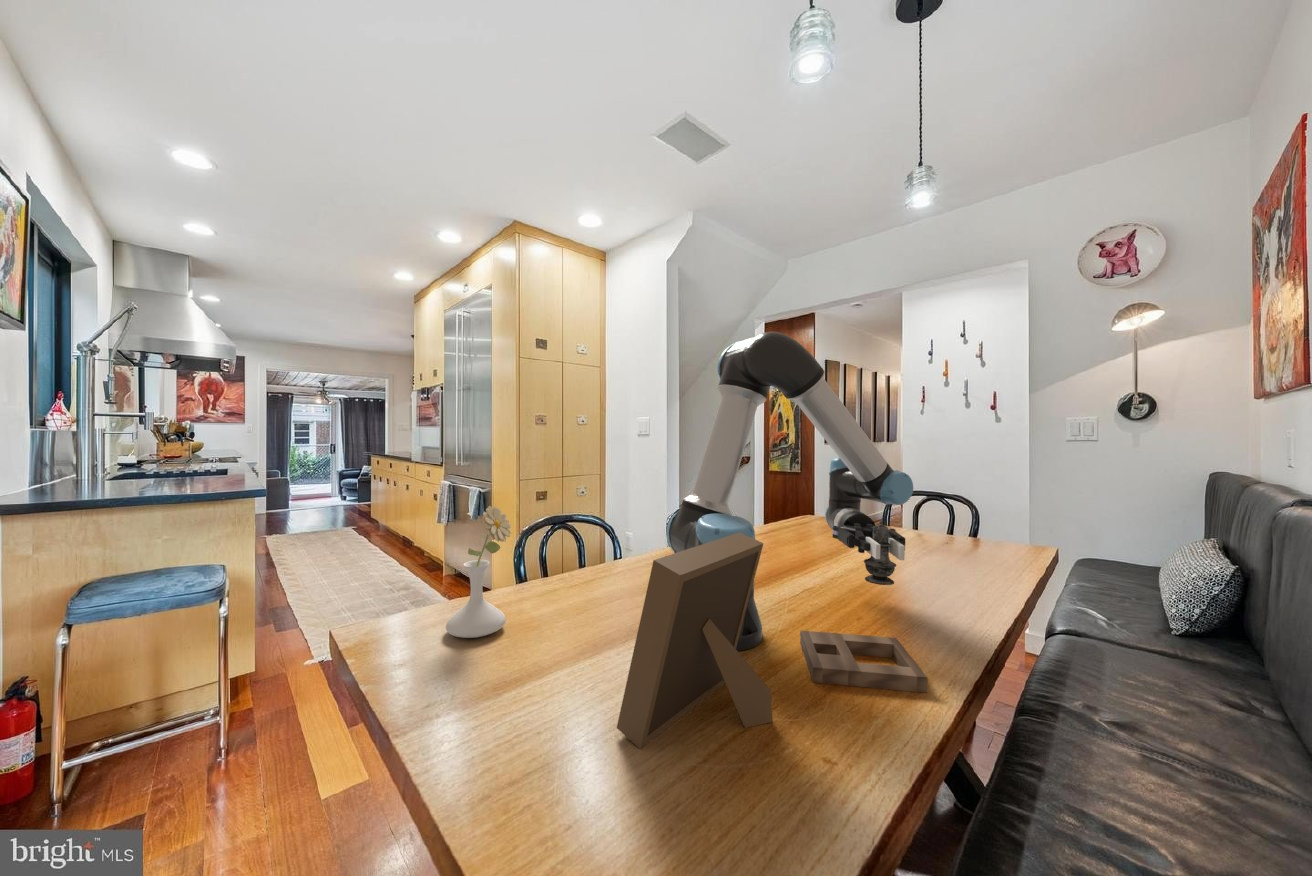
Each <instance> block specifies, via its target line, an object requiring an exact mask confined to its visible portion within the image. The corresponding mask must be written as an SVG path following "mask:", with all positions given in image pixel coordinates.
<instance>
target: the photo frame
mask: <svg viewBox="0 0 1312 876" xmlns="http://www.w3.org/2000/svg"><path fill="white" fill-rule="evenodd" d="M763 548H764V542H761V541H759V540H757V539H756V538H755V539H753V538H751V537H748V536H746V535H744V534H742V533H737V534H733V535H730V536H727V537H724V538H721V539H718V540H715V541H712V542H708V543H705V544H702V545H699V546H696V547H693V548H690V549H687V550H683V551H680V552H677V553H672V554H671V553H670V554H668V555H665V556H662V557H659V558H656V559H653V561H652V566H651V571H650V575H649V579H648V580H649V581H648V584H647V588H646V593H645V597H644V601H643V607H642V612H641V616H640V619H639V624H638V629H637V634H636V639H635V642H634V648H633V651H632V652H633V653H632V655H631V656H632V657H631V662H630V665H629V670H628V673H627V674H628V675H627V679H626V685H625V689H624V693H623V696H622V697H623V698H622V702H621V707H620V712H619V715H618V720H617V725H616V729H617V730H618V731H619V732H620V733H622V734H623V735H624V736H625V737H626V738H627V739H628V740H630V742H632V743H633V744H634V745H635V746H636V747H637V748H638V749H640V750H641V749H643V748H644V747H645V746H646V745H648V744H649V743H650V742H651V741H653V740H654V739H655V738H657V737H658V736H659V735H660V734H663V732H664V731H666V730H667V729H668V728H669V727H670V726H672V725H673V724H675V723H676V722H677V721H678V720H680V719H681V718H683V717H684V716H685V715H686V714H688V713H689V712H690V711H692V710H693V709H694V708H695V707H697V706H698V705H699V704H701V703H702V702H703V701H705V700H706V699H707V698H708V697H710V696H711V695H713V694H714V692H716V691H718V690H719V689H721V687H723V686H724V685H725V687H726V688H727V691H728V693H729V696H730V698H731V701H732V702H733V705H734V708H735V710H736V712H737V714H738V716H739V719H740V721H741V724H742V726H743V727H744V728H745V729H747V728H752V727H756V726H760V725H764V724H771V723H773V722H774V721H773V720H774V719H773V705H772V693H771V692H772V691H771V690H772V689H771V688H770V687H769V686H768V685H767V684H766V682H764V680H763V679H762V678H761V677H760V676H759V674H757V672H756V671H755V670H754V669H753V667H752V666H751V665H750V664H749V663H748V662H747V661H746V660H745V659H744V657H743V656H742V655H741V654H740V652H739V651H737V650H736V647H737V643H738V639H739V635H740V631H741V628H742V624H743V620H744V616H745V612H746V608H747V605H748V601H749V597H750V593H751V589H752V586H753V582H754V583H755V577H756V574H757V570H758V567H759V562H760V559H761V554H762V550H763Z"/></svg>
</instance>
